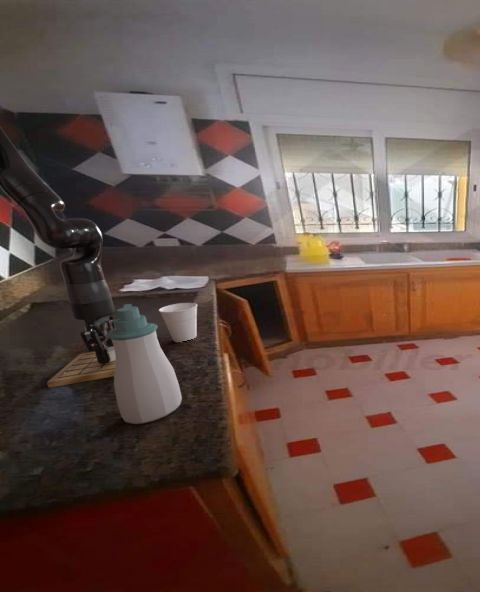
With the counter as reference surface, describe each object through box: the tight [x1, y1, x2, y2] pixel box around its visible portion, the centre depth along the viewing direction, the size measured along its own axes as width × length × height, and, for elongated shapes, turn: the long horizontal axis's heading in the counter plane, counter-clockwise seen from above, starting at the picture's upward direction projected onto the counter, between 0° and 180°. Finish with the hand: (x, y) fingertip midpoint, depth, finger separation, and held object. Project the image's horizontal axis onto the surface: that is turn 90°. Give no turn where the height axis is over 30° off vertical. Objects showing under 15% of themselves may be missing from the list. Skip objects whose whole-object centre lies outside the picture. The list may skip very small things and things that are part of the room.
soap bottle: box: [107, 303, 183, 425], centre depth 64 cm, size 10×10×23 cm
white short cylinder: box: [93, 346, 116, 363], centre depth 85 cm, size 5×5×3 cm
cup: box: [158, 302, 198, 343], centre depth 101 cm, size 10×10×11 cm
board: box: [46, 351, 115, 389], centre depth 86 cm, size 17×17×2 cm
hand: (108, 358), depth 85 cm, fingers closed on white short cylinder, 4 cm apart
